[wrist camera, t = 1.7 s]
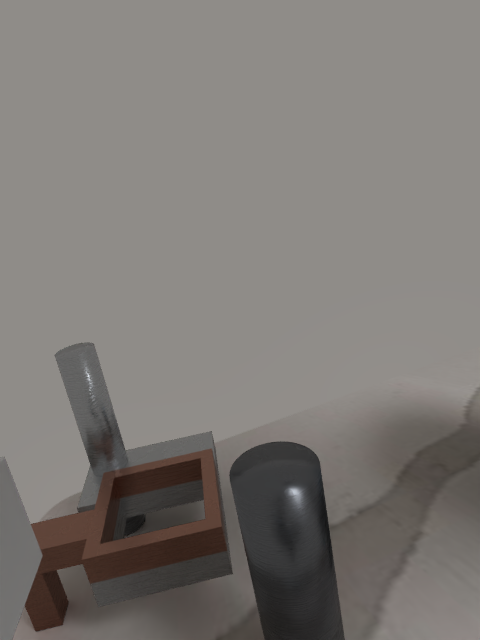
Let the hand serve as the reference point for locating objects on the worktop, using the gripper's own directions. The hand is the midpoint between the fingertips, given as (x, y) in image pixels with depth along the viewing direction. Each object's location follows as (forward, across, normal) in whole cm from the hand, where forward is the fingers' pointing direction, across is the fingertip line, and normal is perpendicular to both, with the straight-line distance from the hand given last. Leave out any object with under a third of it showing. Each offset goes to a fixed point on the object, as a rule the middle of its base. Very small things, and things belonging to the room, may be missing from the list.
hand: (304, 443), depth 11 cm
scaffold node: (+23, -11, -24) cm, 35 cm away
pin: (+10, 0, -24) cm, 26 cm away
